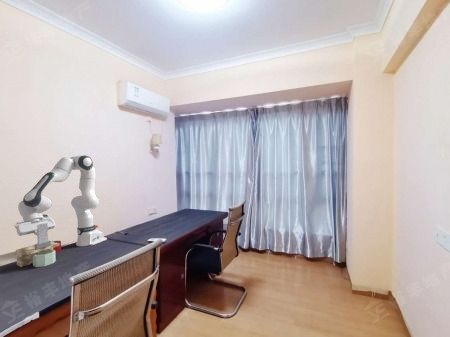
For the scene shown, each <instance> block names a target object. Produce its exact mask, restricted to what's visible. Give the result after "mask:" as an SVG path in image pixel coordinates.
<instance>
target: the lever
mask: <svg viewBox="0 0 450 337" xmlns="http://www.w3.org/2000/svg"><path fill="white" fill-rule="evenodd" d="M51 242H54V243H59V246H57V247H54V248H53V250H55V254H56V253H60V252H61V251H62V241H61V240H52V241H51Z"/></svg>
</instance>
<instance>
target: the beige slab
mask: <svg viewBox="0 0 450 337" xmlns="http://www.w3.org/2000/svg"><path fill="white" fill-rule="evenodd" d="M57 246H59V243H54V242H52V241H51V246H47V247H44V248H40V249H35V244H33V245H29V246H26V247H22V248H19V249H18V248H17V249H15V251H16V252H15V254H16V255H15V256H16V266H18V267H21V268H22V267H25V266H29V265H31V263H32V264H33V254H35V253H36V252H40V251H43V250H51V249H52V250H53V248H54V247H57Z"/></svg>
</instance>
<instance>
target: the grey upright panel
mask: <svg viewBox="0 0 450 337" xmlns="http://www.w3.org/2000/svg"><path fill="white" fill-rule="evenodd" d="M36 237H37V243H35V244H34V245H35V249H40V248H44V247H47V246H51V242H52V241H51V240H49V230H48V223H44V224H39V225H37V235H36Z"/></svg>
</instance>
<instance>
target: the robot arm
mask: <svg viewBox="0 0 450 337" xmlns="http://www.w3.org/2000/svg"><path fill="white" fill-rule="evenodd" d="M76 170H77V171H78V170H79V172H80V175H79V176H80V178H79V184H78V189H79V190H80V193H81V195H78V196H75V197H73V198H72V199H71V201H70V204H71V207H72V208H73V209H74V211H75V214H76V218H77V228H76V231H77V232H76V233H77V240H76V243H75V246H76V247H87V246H94V245H96V244H99V243H102V242H104V241H107V240H108V238H107V237H106V236H104V232H102V231H100V230H99V229H98V228H99V225H98V224H94V223H95V222H94V215H93V214H92V213H91V210H95V209H96V208H98V207H99V204H100V200H99V198H98V197H97V195H96V189H95V188H96V180H97V178H96V177H97V175H96V174H97V173H96V172H97V171H96V168H95V167H94V162H93V159H92V158H91V157H90V156H89V155H77V156H72V157H66V156H65V157H61V158H60V159H59V160H58V161H57V162H56V164H55V165H54V167H53V168H52V169H51V170H50V171H48V172H45V174H44V175H43V176H42V177H41V178H40V179H39V180H38V182H37V183H36V184H35V185H34V186H33V188H31V189H30V190H29V191H28V192H27V193H26V194H25V195H24V196H23V198H22V200H21V201H20V202H19V203H18V205H17V208H18V211H19V214H20V216H21V217H22V220H23V221H21V222H17V223H14V228H15V229H16V232H17V235H18V236H20V237H23V236H26V235H31V234H34V235H35V236H37V225H39V224H44V223H48V231H49V230H53V229H54V228H55V227H56V224H57V223H55V220H54V219H53V218H52V217H50V216H51V215H50V214H48V213H47V214H46V213H44V212H46V211H47V210H49V209H50V208H51V206H52V205H53V204H52V203H53V202H52V200H51V199H50V198H49V197H48V196H44V195H43V193H44V191H45V190H46V189H47V187H49V185H50V184H51V183H62V182H65V181H66V180H67V179H68V177H69V176H70V174H71V172H72V171H76Z"/></svg>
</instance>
